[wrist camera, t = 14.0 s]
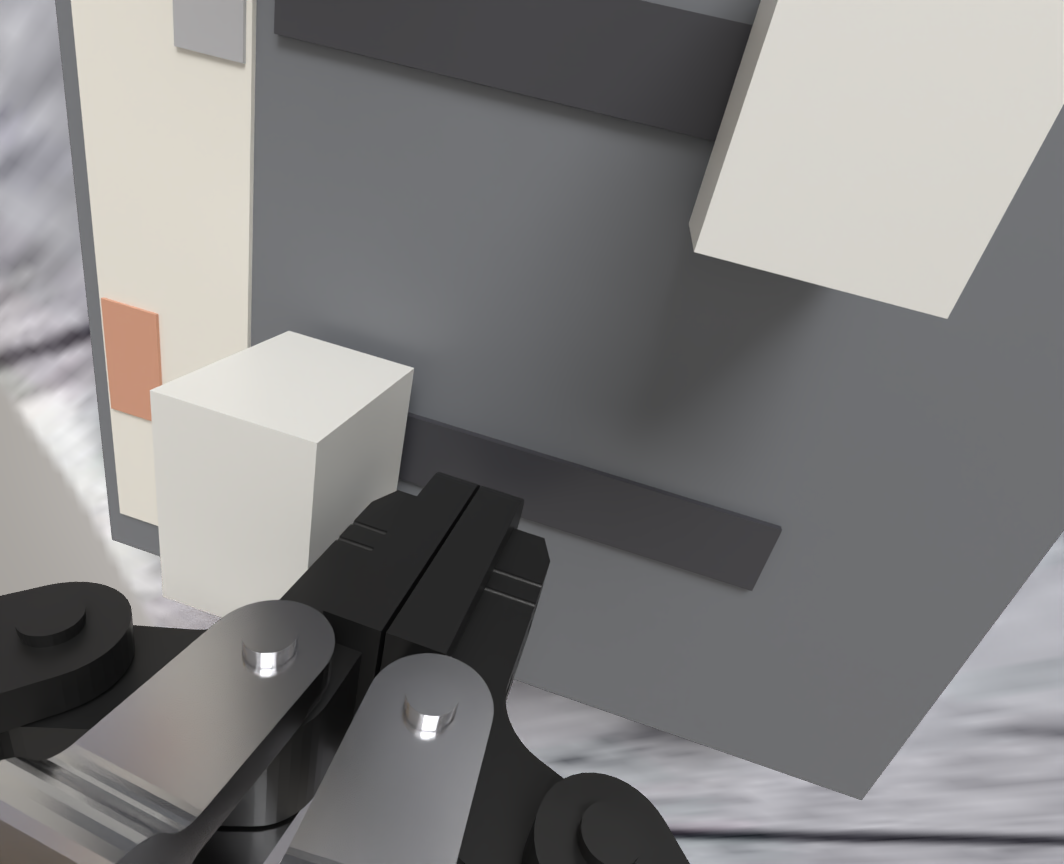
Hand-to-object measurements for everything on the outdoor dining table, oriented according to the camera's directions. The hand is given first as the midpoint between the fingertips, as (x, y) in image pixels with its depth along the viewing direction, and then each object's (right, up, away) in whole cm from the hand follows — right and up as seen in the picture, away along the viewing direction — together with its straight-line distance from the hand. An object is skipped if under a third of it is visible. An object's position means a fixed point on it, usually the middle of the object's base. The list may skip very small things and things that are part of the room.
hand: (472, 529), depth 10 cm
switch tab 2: (+5, +6, -2) cm, 8 cm away
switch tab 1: (-3, +2, +1) cm, 3 cm away
